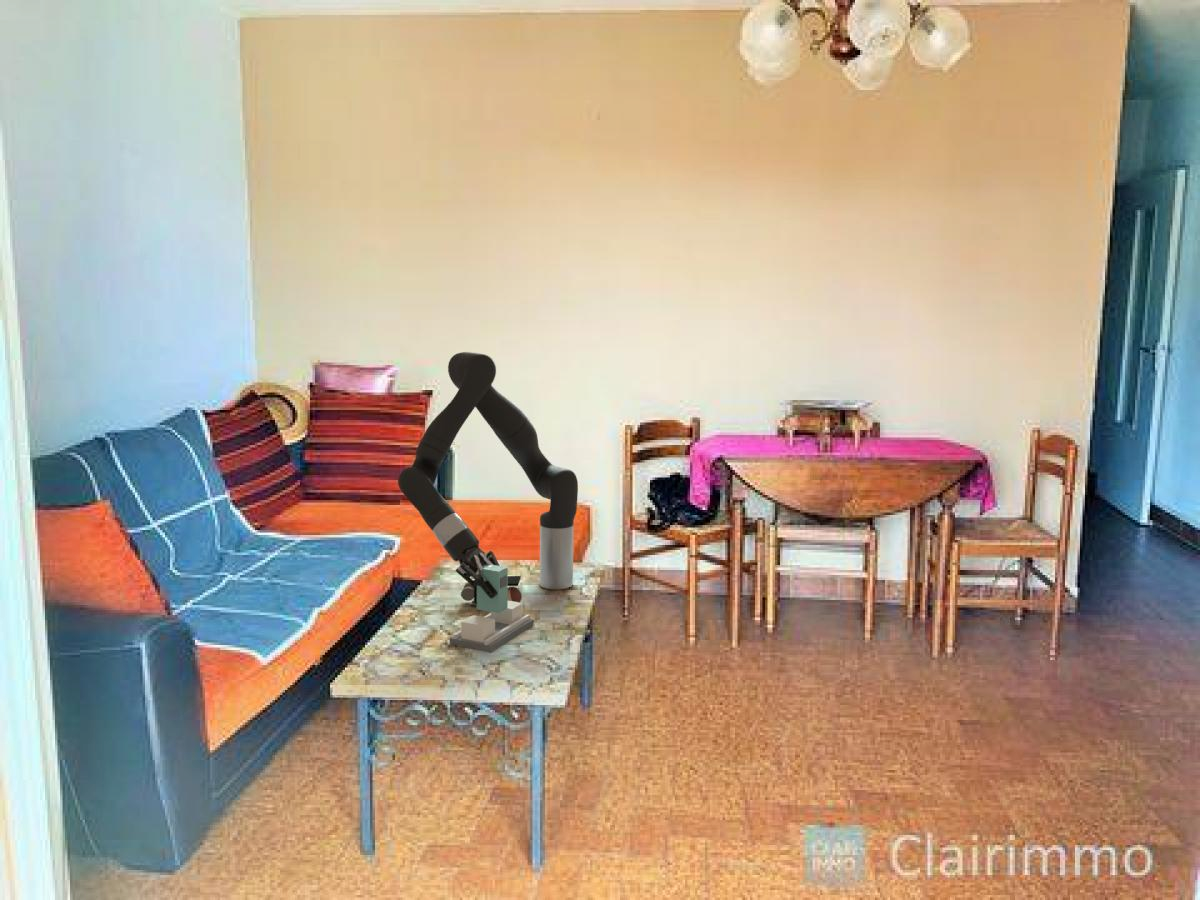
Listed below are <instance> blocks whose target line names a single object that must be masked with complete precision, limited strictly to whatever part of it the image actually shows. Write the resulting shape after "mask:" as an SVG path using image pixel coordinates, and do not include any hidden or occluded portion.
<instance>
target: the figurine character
mask: <svg viewBox="0 0 1200 900" xmlns="http://www.w3.org/2000/svg"><path fill="white" fill-rule="evenodd" d="M521 579H522V578H521V575H508V601H514V602H519V603H521V601H522V597H523V596H522V592H521V590H520V589H519V584H520V581H521ZM460 597H461V598H462V599H463V600H465V602H466V601H467V602H469V601H470V602H471V603H472V604H470V605H469V607H477V586H475V587H473V586H472V585H471V584H470V583H468V582H467V581H466V583H465V584H464V586H463V589H462V590H461V593H460Z"/></svg>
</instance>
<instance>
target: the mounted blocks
mask: <svg viewBox="0 0 1200 900" xmlns="http://www.w3.org/2000/svg"><path fill="white" fill-rule="evenodd" d="M490 613H491V618H486V617H484V616H479V615H475V614H474V615H470V616H468V617H467V618H465V619H463V620H461V621H460V630H461V638H462V639H467V640H473V641H478V642H483V643H484V640H486V639H488V638H489V637H491V636H492V635H494V634H495V622H498V623H504V624H509V625H510V624H512V623H514V622H515V621H517V620H519V619H520V618H522V617H523V616H524V615H523V602H520V603H519V602H514V601H508V604H507V609H505V610H503V611H502V612H500V613H495V612H490Z"/></svg>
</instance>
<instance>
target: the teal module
mask: <svg viewBox="0 0 1200 900" xmlns="http://www.w3.org/2000/svg"><path fill="white" fill-rule="evenodd" d="M482 567H483V574H484V575H485V576H486V578H487V581H489V582H490V583H491V585H492V586H493V587H494V588H495V590H496V591H497V595H496V596H495V597H493V598H490V597H489V596H488V595H487V594H486V593H485V592H484V590H483V589H482V588H481V587H479V586H477V603H476V604H477V606H476V610H479V611H485V612H489V613H491V612H495V613H500V612H502V611H503V610H505V609H507V604H508V588H509V586H508V576H509V575H508V574H509V573H508V569H509V567H508V566H507V567H506V566H502V565H500V566H496V565H485V566H482ZM477 571H478V570H477ZM479 577H480V575H479ZM480 578H481V577H480Z"/></svg>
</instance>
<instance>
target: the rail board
mask: <svg viewBox="0 0 1200 900" xmlns="http://www.w3.org/2000/svg"><path fill="white" fill-rule="evenodd" d="M483 617H486V618H491V612H489V613H487V614H486V615H485V616H483ZM533 626H534V618H531V614H528V613H527V614H526V615H523V617H522V618H520V619H519V620H517V621H515V622H514V623H512V624H510V625H509V624H504V623H498V622H495V634H494V635H492V636H491V637H489V638H488V639H486V640H484V643H483V642H478V641H473V640H467V639H462V638H461V629H459V630H458V631H456V632H454V633H453V634H452V636H450V637H449V645H452V646H458V647H463V648H468V649H472V650H478V651H482V652H487V651H488V653H492V652H493V651H495V650H497V649H498V648H500V647H501V646H503V645H504V644H506V643H507V642H509V641H511V640H512V639H514V638H515V637H517V636H519V635H520V634H522V633H524V632H525V631H526V630H528V629H529V628H531V627H533Z"/></svg>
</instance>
